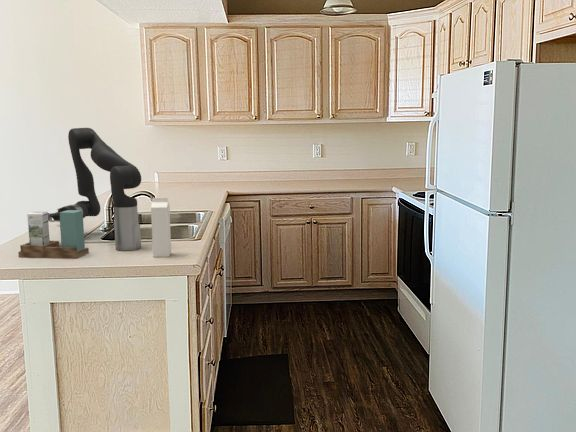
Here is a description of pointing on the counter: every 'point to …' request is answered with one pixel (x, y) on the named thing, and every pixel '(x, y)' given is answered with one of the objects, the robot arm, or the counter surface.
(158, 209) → the milk
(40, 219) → the syrup box
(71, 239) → the teal tall block
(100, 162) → the robot arm
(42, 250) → the wooden compartment tray
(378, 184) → the counter surface
